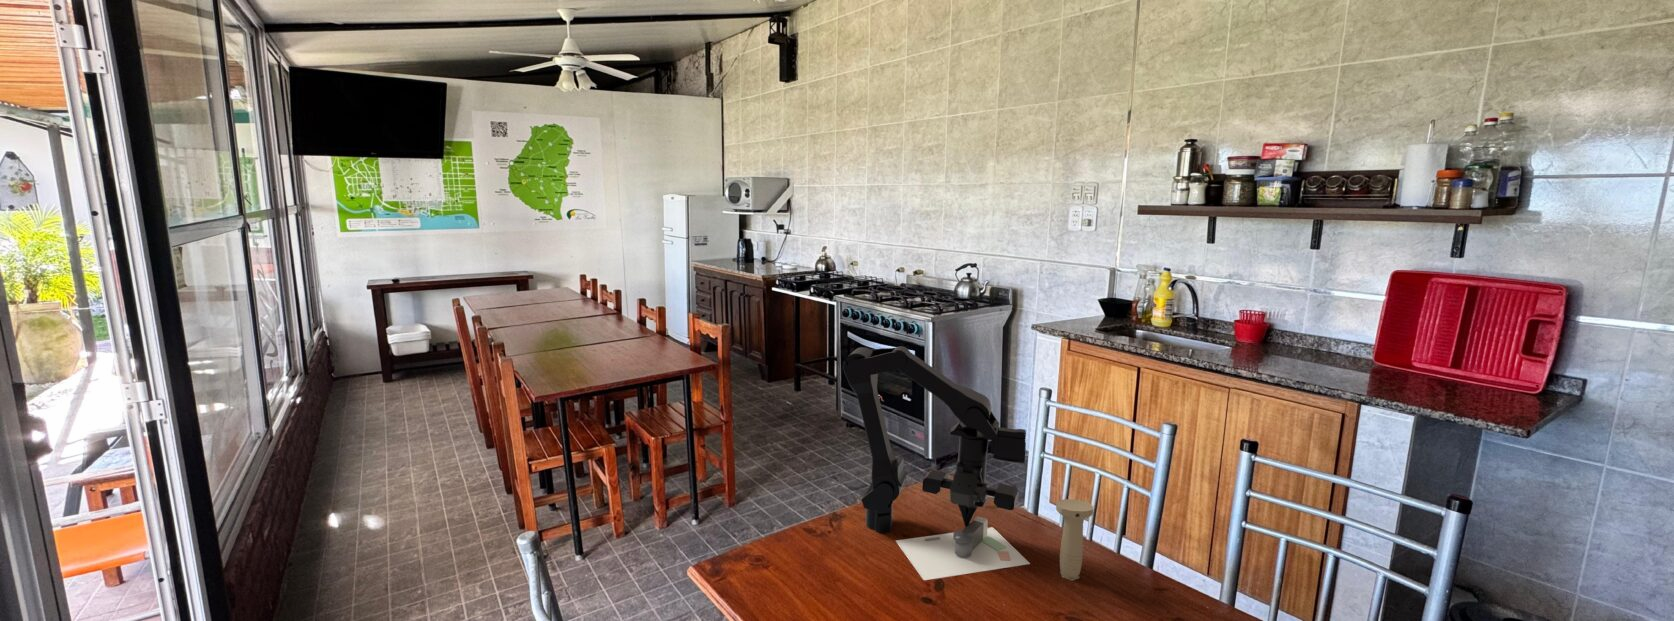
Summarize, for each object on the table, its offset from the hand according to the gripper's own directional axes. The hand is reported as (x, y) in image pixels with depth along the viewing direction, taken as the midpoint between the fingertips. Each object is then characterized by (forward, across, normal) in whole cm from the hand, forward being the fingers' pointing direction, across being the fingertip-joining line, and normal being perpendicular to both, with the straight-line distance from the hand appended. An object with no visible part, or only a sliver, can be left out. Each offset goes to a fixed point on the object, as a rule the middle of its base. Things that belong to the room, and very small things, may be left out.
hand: (967, 527), depth 143 cm
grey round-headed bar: (+2, +2, -4) cm, 5 cm away
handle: (+2, +21, -7) cm, 22 cm away
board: (+3, 0, -7) cm, 7 cm away
